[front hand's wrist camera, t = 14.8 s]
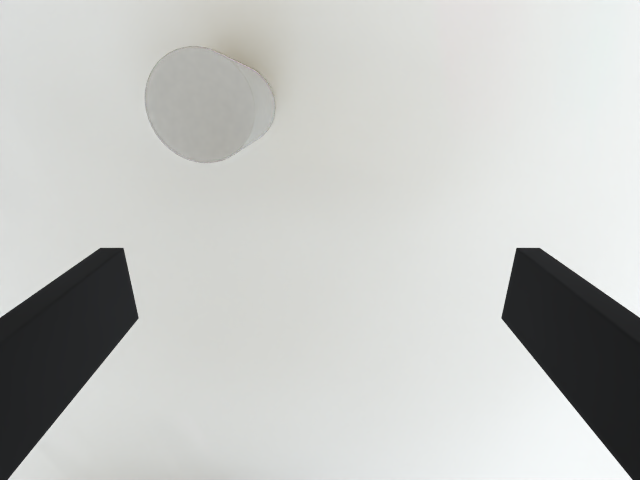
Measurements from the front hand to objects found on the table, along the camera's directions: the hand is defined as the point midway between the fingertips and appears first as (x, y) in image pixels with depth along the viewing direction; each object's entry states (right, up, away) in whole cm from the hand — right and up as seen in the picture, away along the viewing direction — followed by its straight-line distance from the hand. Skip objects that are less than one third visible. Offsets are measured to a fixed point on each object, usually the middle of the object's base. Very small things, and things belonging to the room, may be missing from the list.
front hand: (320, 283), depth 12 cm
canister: (-6, +11, +14) cm, 18 cm away
